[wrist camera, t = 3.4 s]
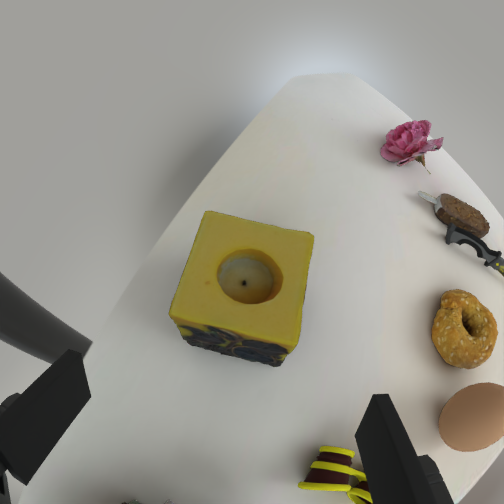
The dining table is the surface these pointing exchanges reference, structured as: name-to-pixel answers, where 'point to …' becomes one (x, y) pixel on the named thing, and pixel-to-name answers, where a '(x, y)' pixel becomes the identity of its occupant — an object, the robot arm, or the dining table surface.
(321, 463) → the opera glasses
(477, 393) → the egg
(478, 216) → the ice cream bar
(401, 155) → the flower
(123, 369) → the dining table surface
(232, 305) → the candle
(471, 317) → the bagel
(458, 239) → the knife
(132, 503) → the drawer
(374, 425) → the robot arm
